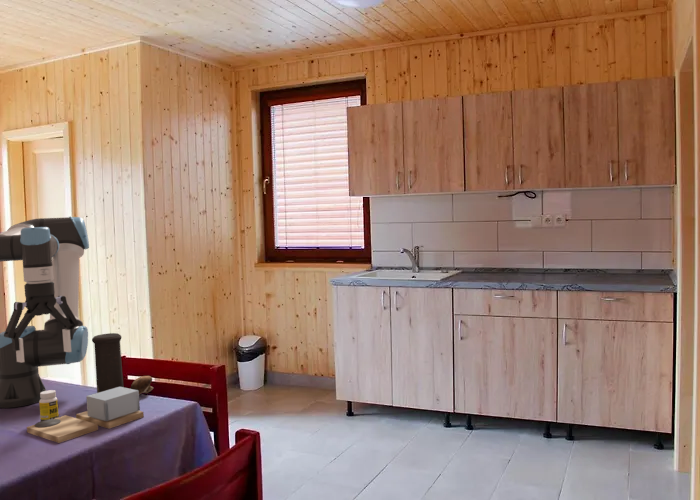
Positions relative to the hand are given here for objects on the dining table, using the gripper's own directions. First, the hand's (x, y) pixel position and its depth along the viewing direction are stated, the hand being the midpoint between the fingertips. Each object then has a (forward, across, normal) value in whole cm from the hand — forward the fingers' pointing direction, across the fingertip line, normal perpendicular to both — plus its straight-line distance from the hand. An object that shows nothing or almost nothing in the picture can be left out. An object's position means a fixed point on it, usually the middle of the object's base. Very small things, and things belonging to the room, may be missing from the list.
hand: (44, 356), depth 178 cm
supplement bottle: (+19, 0, 0) cm, 19 cm away
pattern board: (+18, +10, -14) cm, 25 cm away
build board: (+18, -3, -12) cm, 22 cm away
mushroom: (+19, +30, -1) cm, 35 cm away
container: (+19, +24, +7) cm, 31 cm away
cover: (+17, +10, -16) cm, 25 cm away
